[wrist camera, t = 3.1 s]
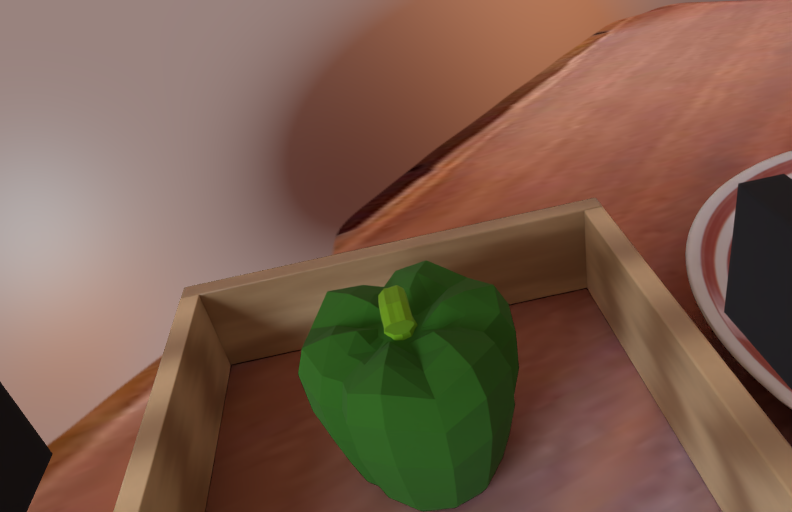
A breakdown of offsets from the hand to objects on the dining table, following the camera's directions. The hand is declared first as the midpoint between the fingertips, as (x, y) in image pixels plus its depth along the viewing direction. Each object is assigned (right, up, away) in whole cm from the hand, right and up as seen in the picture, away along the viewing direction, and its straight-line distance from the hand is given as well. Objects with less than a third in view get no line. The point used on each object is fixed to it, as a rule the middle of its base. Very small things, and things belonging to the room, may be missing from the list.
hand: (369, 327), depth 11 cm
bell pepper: (+2, -8, +17) cm, 18 cm away
